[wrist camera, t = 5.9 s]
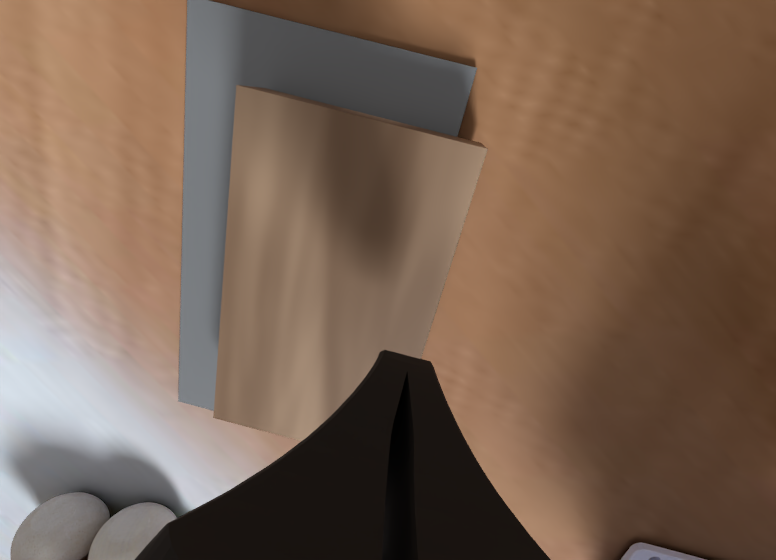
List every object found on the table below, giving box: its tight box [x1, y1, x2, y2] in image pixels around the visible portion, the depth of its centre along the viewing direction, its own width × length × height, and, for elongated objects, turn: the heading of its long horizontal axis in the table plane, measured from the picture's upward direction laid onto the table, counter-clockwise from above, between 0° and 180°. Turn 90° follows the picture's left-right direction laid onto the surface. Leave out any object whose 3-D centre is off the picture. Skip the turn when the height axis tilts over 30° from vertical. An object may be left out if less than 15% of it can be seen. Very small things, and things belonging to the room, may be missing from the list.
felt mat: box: [178, 0, 477, 411], centre depth 16 cm, size 9×16×1 cm, turn 167°
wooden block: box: [213, 85, 488, 441], centre depth 14 cm, size 2×12×7 cm
